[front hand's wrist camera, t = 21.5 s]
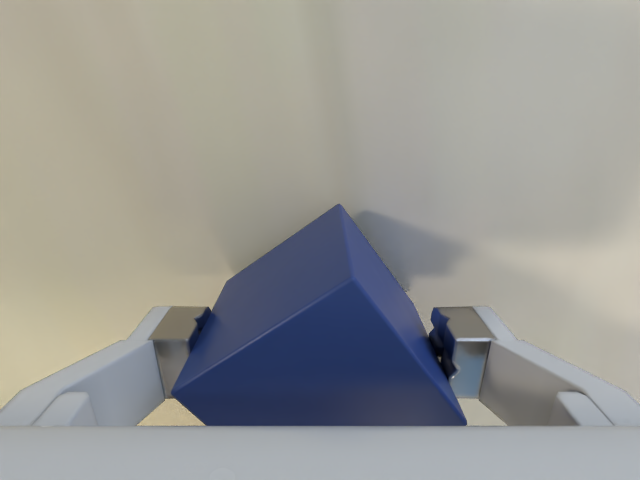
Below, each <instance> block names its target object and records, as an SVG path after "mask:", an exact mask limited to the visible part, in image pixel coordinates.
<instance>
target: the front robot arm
mask: <svg viewBox="0 0 640 480" xmlns="http://www.w3.org/2000/svg"><path fill="white" fill-rule="evenodd" d="M210 314H211V310H210V308H209V307H189V306H174V307H173V306H156V307H153V308H152V309H151V310H150V311H149V313H148V314H147V315H146V316H145V317H144V319H143V320H142V321H141V322H140V324H139V325H138V326H137V327H136V329H135V330H134V331H133V332H132V334H131V335H130V336H129V337H128V338H127V340H120V341H118V342H116V343H114V344H112V345H110V346H108V347H106V348H104V349H102V350H100V351H98V352H96V353H94V354H92V355H90V356H88V357H86V358H84V359H82V360H80V361H78V362H76V363H74V364H72V365H70V366H68V367H66V368H64V369H62V370H60V371H58V372H56V373H54V374H52V375H50V376H48V377H46V378H44V379H42V380H40V381H38V382H36V383H34V384H32V385H30V386H28V387H26V388H24V389H22V390H20V391H19V392H18V393H17V394H16V395H15V396H14V397H13V398H12V399H11V400H10V401H9V402H8V403H7V404H6V405H5V406H4V407H3V408H2V409H1V410H0V480H640V404H639V403H638V402H637V401H635V400H634V399H633V398H632V397H631V396H630V395H629V394H628V393H627V392H626V391H625V390H623V389H621V388H619V387H617V386H615V385H613V384H611V383H609V382H607V381H605V380H603V379H601V378H599V377H597V376H595V375H593V374H591V373H589V372H587V371H585V370H583V369H581V368H579V367H577V366H575V365H572V364H570V363H568V362H566V361H564V360H562V359H560V358H558V357H556V356H554V355H552V354H550V353H548V352H546V351H544V350H542V349H540V348H538V347H536V346H534V345H532V344H530V343H528V342H526V341H524V340H517V339H516V337H515V336H514V335H513V334H512V333H511V331H510V330H509V329H508V328H507V326H506V325H505V324H504V323H503V322H502V320H501V319H500V318H499V317H498V316H497V314H496V313H495V312H494V311H493V310H492V308H491V307H488V306H469V307H434V308H433V311H432V315H431V322H432V324H433V326H434V329H433V330H432V331H431V332H430V333H429V340H430V342H431V344H432V346H433V348H434V351H435V353H436V355H437V357H438V359H439V361H440V364H441V366H442V368H443V370H444V373H445V375H446V377H447V379H448V381H449V383H450V385H451V387H452V390H453V392H454V394H455V396H456V398H474V399H479V401H480V402H481V403H483V404H484V405H485V406H486V407H487V408H488V409H490V410H491V411H492V412H493V413H494V414H495V415H496V416H498V417H499V418H500V419H501V420H502V421H503V422H505V423H506V424H507V425H508V426H136V425H137V424H138V423H140V422H141V421H142V420H143V419H144V418H145V417H146V416H148V415H149V414H150V413H151V412H152V411H153V410H154V409H156V408H157V407H158V406H159V405H160V404H161V403H162V402H164V401H165V399H169V398H174V397H173V396H172V395H171V390H172V388H173V386H174V384H175V382H176V380H177V378H178V376H179V374H180V372H181V370H182V368H183V366H184V364H185V362H186V361H187V359H188V357H189V355H190V353H191V351H192V349H193V347H194V345H195V344H196V342H197V340H198V338H199V335H200V333H201V331H202V329H203V327H204V326H205V324H206V322H207V320H208V318H209V316H210Z"/></svg>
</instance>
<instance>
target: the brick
mask: <svg viewBox="0 0 640 480" xmlns="http://www.w3.org/2000/svg"><path fill="white" fill-rule="evenodd" d="M171 395H172V396H173V397H174V398H175V399H176V400H178V401H179V402H180V403H181V404H182V405H183V406H184V407H186V408H187V409H188V410H189V411H190V412H191V413H192V414H194V415H195V416H196V417H197V418H198V419H199V420H200V421H202V422H203V423H204V424H205V425H206V426H466V425H467V420H466V418H465V416H464V414H463V412H462V409H461V407H460V405H459V403H458V401H457V398H456V396H455V394H454V392H453V390H452V387H451V385H450V383H449V381H448V379H447V377H446V375H445V373H444V370H443V368H442V366H441V364H440V361H439V359H438V357H437V355H436V353H435V351H434V348H433V346H432V344H431V342H430V340H429V337H428V335H427V333H426V330H425V328H424V326H423V324H422V322H421V319H420V317H419V315H418V313H417V311H416V308H415V306H414V304H413V303H412V301H411V300H410V298H409V297H408V296H407V294H406V293H405V292H404V290H403V289H402V288H401V286H400V285H399V283H398V282H397V281H396V279H395V278H394V277H393V275H392V274H391V272H390V271H389V270H388V268H387V267H386V266H385V264H384V263H383V261H382V260H381V259H380V257H379V256H378V255H377V253H376V252H375V251H374V249H373V248H372V246H371V245H370V244H369V242H368V241H367V240H366V238H365V237H364V235H363V234H362V233H361V231H360V230H359V229H358V227H357V226H356V224H355V223H354V222H353V220H352V219H351V218H350V216H349V215H348V214H347V212H346V211H345V209H344V208H343V207H342V205H340V204H337V205H336V206H334V207H333V208H332V209H330V210H329V211H327V212H326V213H324V214H323V215H322V216H320V217H319V218H317V219H316V220H314V221H313V222H311V223H310V224H309V225H307V226H306V227H304V228H303V229H301V230H300V231H298V232H297V233H296V234H294V235H293V236H291V237H290V238H288V239H287V240H285V241H284V242H283V243H281V244H280V245H278V246H277V247H275V248H274V249H272V250H271V251H270V252H268V253H267V254H265V255H264V256H262V257H261V258H259V259H258V260H257V261H255V262H254V263H252V264H251V265H249V266H248V267H247V268H245V269H244V270H242V271H241V272H239V273H238V274H236V275H235V276H234V277H232V278H231V279H229V280H228V281H227V282H226V284H225V286H224V288H223V290H222V292H221V294H220V296H219V298H218V300H217V301H216V303H215V305H214V307H213V309H212V311H211V314H210V316H209V318H208V320H207V322H206V324H205V326H204V327H203V329H202V331H201V333H200V335H199V338H198V340H197V342H196V344H195V345H194V347H193V349H192V351H191V353H190V355H189V357H188V359H187V361H186V362H185V364H184V366H183V368H182V370H181V372H180V374H179V376H178V378H177V380H176V382H175V384H174V386H173V388H172V390H171Z"/></svg>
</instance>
